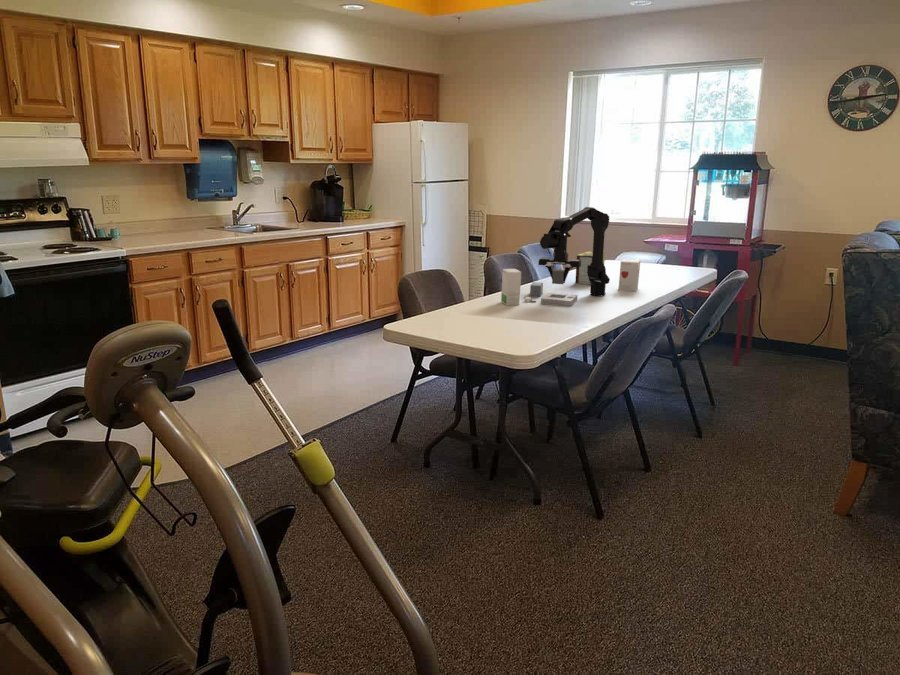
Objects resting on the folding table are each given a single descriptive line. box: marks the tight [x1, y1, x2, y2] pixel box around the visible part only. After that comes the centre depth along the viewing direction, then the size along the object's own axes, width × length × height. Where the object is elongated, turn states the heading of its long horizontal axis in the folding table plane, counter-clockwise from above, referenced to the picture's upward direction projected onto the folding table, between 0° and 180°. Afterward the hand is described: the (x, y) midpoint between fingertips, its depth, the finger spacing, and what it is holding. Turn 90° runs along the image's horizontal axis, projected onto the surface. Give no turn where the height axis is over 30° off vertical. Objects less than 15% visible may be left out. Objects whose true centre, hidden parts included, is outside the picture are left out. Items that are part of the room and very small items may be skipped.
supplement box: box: [618, 258, 641, 292], centre depth 329 cm, size 9×9×15 cm
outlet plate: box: [540, 292, 578, 307], centre depth 301 cm, size 14×14×3 cm
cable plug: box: [524, 296, 537, 303], centre depth 302 cm, size 5×3×2 cm, turn 68°
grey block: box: [551, 268, 566, 285], centre depth 299 cm, size 5×5×7 cm
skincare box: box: [500, 268, 522, 307], centre depth 296 cm, size 8×7×16 cm
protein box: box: [574, 251, 606, 286], centre depth 348 cm, size 10×15×16 cm
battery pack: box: [529, 281, 544, 298], centre depth 316 cm, size 5×9×6 cm, turn 166°
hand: (558, 280), depth 300 cm, fingers closed on grey block, 5 cm apart
